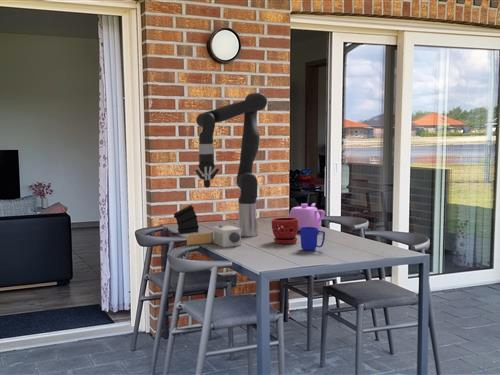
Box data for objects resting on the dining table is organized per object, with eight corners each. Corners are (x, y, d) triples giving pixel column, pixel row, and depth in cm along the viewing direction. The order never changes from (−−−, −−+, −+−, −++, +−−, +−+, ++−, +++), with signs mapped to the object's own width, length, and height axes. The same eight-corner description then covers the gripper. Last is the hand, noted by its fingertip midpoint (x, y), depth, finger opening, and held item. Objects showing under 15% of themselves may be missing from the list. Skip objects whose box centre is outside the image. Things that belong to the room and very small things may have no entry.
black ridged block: (204, 229, 317) (192, 205, 314) (183, 240, 314) (170, 216, 311) (202, 228, 320) (190, 204, 317) (181, 239, 317) (169, 215, 314)
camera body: (230, 240, 289) (230, 223, 288) (242, 245, 276) (242, 227, 275) (213, 242, 285) (212, 225, 284) (224, 247, 272) (224, 229, 271)
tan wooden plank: (213, 242, 285) (213, 232, 284) (187, 245, 278) (187, 234, 277) (212, 242, 286) (211, 231, 286) (186, 245, 279) (186, 234, 279)
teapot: (318, 234, 306) (318, 206, 304) (283, 231, 316) (283, 204, 315) (335, 228, 325) (335, 202, 324) (301, 225, 336) (301, 200, 335)
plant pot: (300, 240, 289) (300, 216, 287) (295, 245, 276) (295, 220, 275) (275, 239, 292) (274, 216, 291) (268, 244, 279) (268, 219, 278)
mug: (320, 253, 257) (320, 230, 256) (296, 250, 264) (296, 228, 263) (328, 249, 264) (328, 228, 263) (304, 247, 271) (304, 226, 270)
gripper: (215, 152, 294) (216, 186, 295) (191, 153, 288) (192, 187, 290) (221, 152, 287) (222, 187, 288) (196, 153, 281) (197, 188, 283)
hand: (207, 187), depth 289 cm, fingers closed
